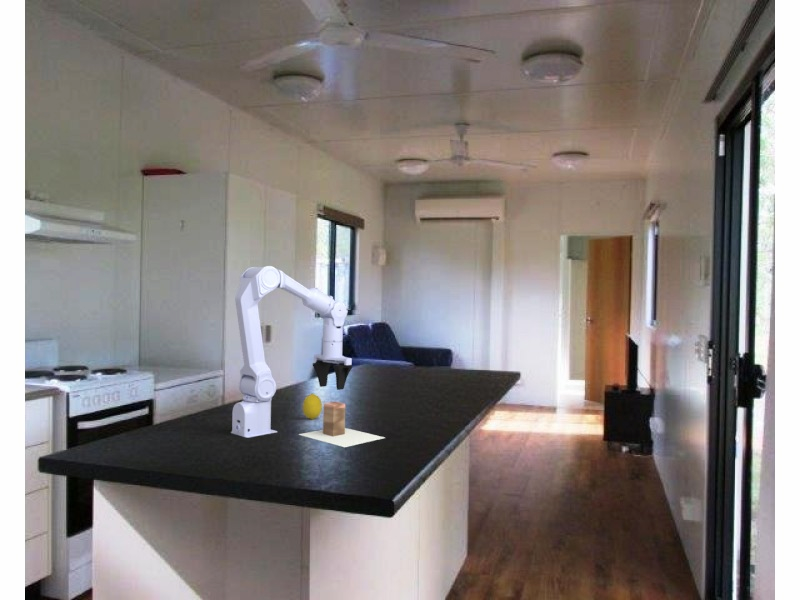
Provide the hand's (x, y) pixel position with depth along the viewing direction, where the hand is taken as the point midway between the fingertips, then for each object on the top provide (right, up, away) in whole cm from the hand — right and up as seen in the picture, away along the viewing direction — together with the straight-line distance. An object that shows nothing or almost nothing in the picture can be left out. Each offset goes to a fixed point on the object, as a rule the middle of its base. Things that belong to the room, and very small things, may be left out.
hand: (331, 387), depth 168 cm
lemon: (-6, -10, +1) cm, 12 cm away
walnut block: (+3, -9, -18) cm, 20 cm away
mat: (+5, -10, -20) cm, 23 cm away
